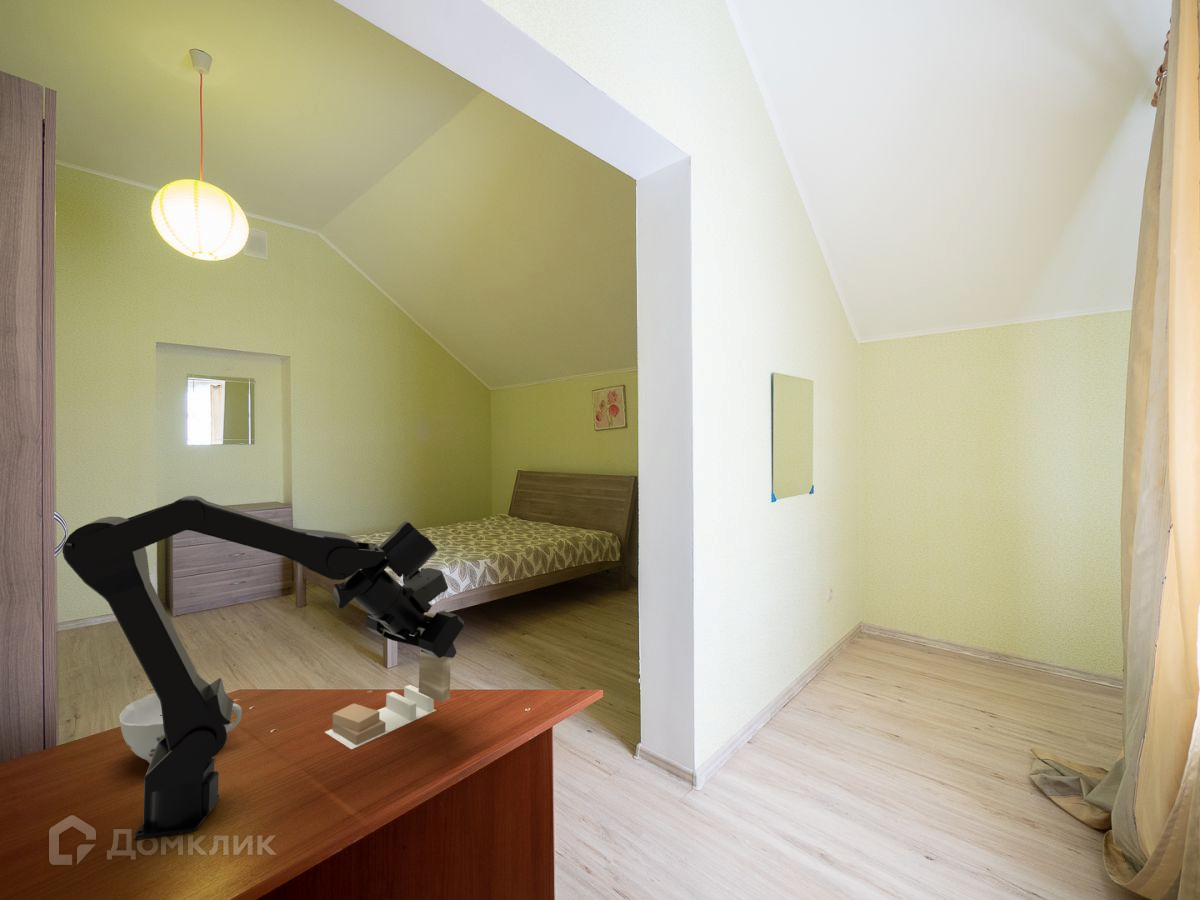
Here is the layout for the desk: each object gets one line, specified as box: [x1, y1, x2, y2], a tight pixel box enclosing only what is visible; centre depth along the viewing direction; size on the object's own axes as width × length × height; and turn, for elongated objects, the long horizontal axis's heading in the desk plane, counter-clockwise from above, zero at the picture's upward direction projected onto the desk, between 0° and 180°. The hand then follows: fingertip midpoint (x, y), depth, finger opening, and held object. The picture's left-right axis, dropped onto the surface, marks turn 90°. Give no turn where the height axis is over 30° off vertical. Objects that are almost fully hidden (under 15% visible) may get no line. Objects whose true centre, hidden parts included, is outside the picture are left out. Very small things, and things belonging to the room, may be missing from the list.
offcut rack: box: [324, 684, 437, 750], centre depth 89 cm, size 16×8×4 cm, turn 145°
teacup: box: [118, 692, 243, 764], centre depth 80 cm, size 15×12×8 cm
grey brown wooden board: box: [418, 612, 452, 703], centre depth 87 cm, size 2×6×13 cm, turn 55°
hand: (442, 650), depth 88 cm, fingers closed on grey brown wooden board, 6 cm apart
